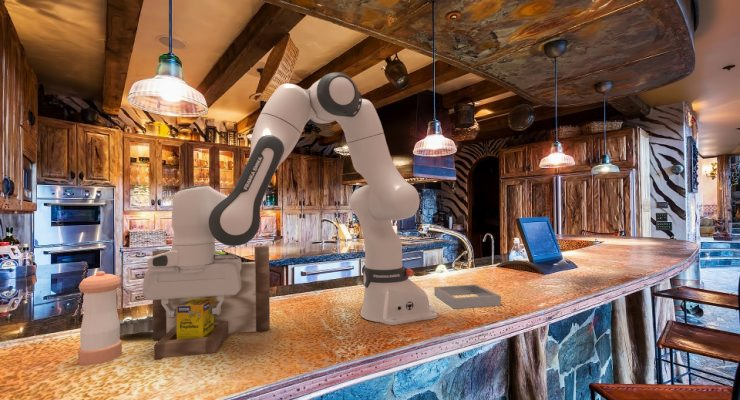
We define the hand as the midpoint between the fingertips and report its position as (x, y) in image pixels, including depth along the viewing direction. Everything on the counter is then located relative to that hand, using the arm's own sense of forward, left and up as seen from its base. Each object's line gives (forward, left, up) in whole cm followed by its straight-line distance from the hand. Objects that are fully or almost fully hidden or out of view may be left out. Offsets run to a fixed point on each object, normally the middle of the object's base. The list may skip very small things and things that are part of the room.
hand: (194, 316), depth 77 cm
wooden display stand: (0, 0, -8) cm, 8 cm away
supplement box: (0, 0, -8) cm, 8 cm away
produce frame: (-78, -22, -8) cm, 81 cm away
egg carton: (+17, -13, -8) cm, 23 cm away
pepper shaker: (+18, +2, -8) cm, 20 cm away
